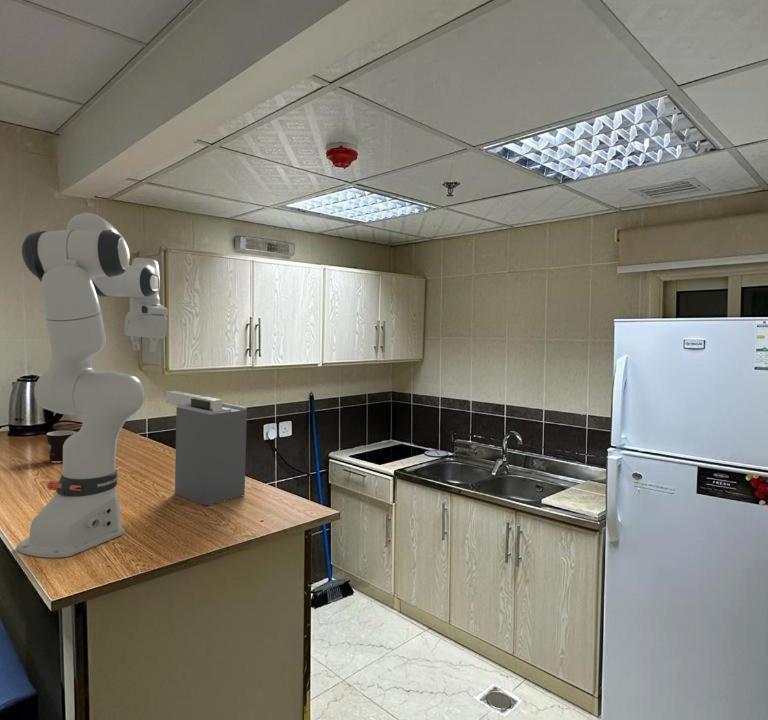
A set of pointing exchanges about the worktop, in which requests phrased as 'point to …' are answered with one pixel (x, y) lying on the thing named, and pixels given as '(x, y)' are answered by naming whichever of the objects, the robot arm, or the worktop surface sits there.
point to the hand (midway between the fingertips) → (144, 351)
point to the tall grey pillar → (210, 453)
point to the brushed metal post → (194, 401)
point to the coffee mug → (57, 443)
